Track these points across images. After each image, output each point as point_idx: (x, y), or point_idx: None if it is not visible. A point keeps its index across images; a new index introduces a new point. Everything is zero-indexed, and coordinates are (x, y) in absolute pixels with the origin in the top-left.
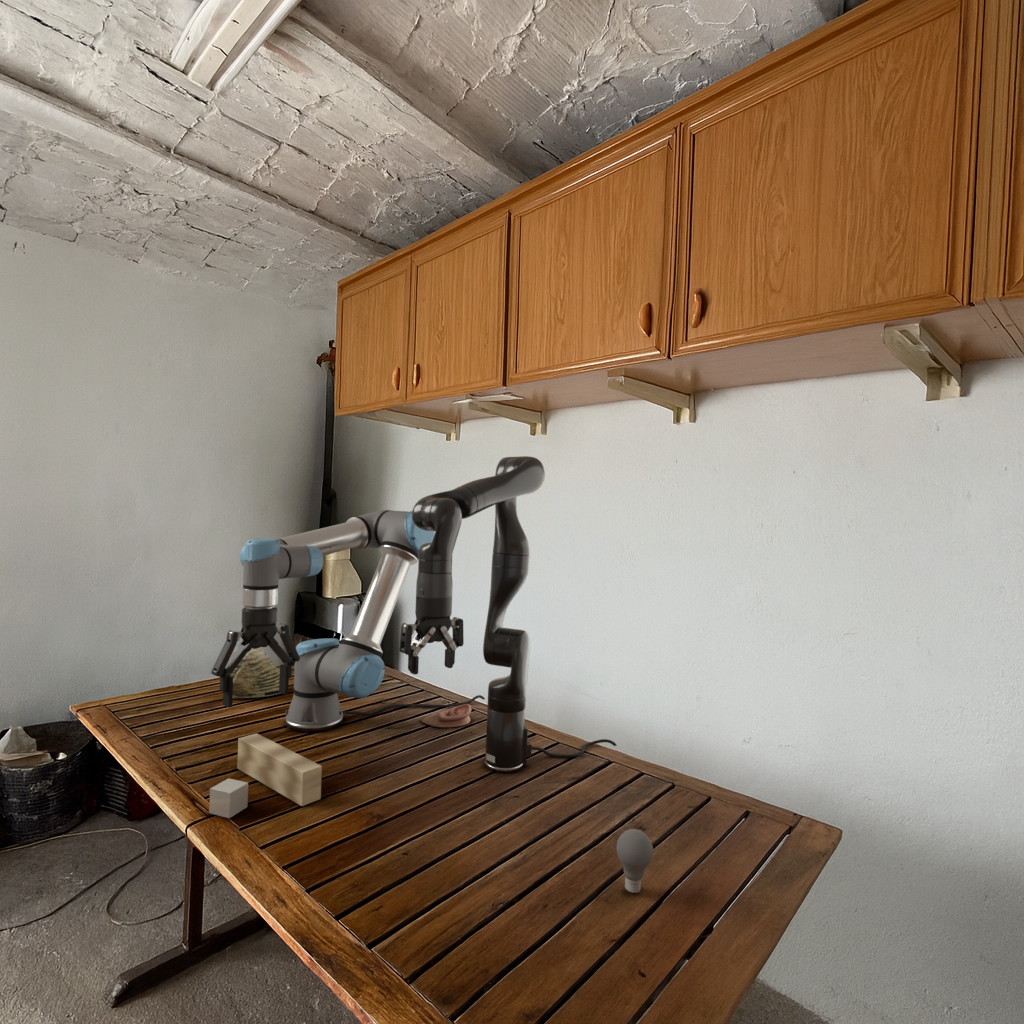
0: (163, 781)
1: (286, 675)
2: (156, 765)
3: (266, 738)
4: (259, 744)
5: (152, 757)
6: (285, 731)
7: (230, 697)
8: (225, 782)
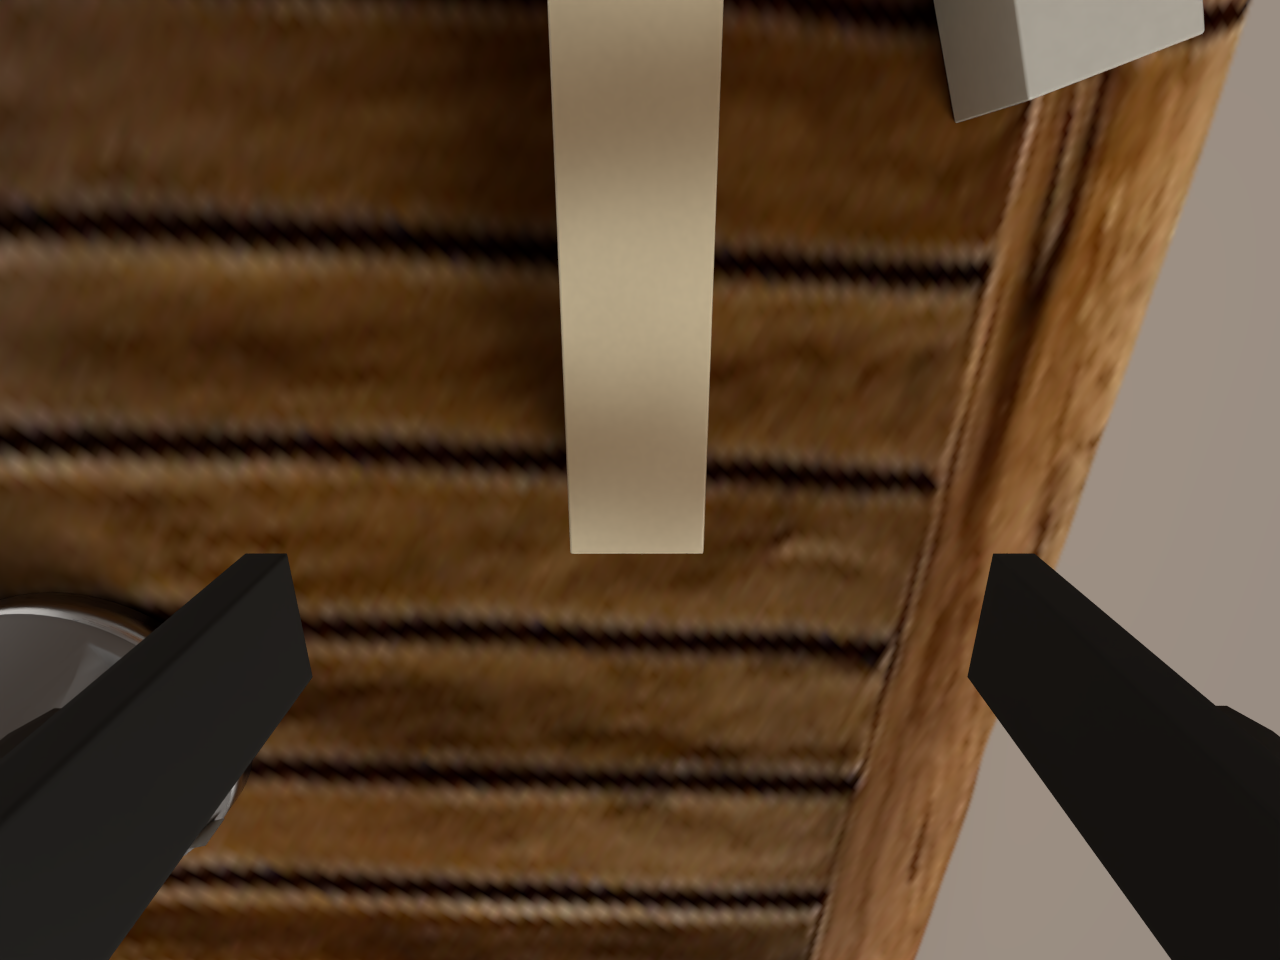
0: None
1: (94, 721)
2: (910, 741)
3: (568, 425)
4: (662, 357)
5: (874, 817)
6: None
7: (1091, 619)
8: (1088, 42)
